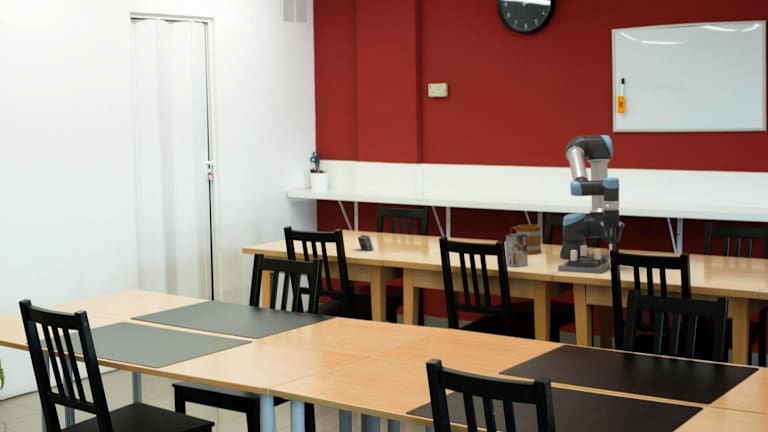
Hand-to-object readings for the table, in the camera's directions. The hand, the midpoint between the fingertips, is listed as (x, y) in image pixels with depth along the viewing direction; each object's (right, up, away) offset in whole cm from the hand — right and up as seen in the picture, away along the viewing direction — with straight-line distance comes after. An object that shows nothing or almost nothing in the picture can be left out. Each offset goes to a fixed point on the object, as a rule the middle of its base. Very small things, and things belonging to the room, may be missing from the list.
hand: (611, 256), depth 505 cm
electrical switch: (-122, 0, +85) cm, 149 cm away
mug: (-34, 0, +61) cm, 70 cm away
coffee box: (-44, -5, +20) cm, 49 cm away
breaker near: (-18, -2, +1) cm, 18 cm away
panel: (-10, -6, +7) cm, 14 cm away
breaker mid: (-6, -1, +4) cm, 7 cm away
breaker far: (-11, 0, +15) cm, 19 cm away
